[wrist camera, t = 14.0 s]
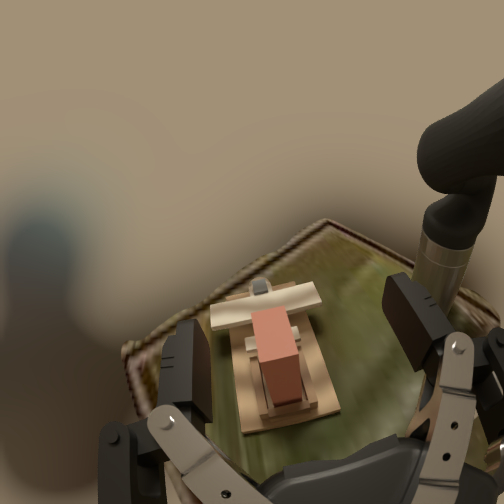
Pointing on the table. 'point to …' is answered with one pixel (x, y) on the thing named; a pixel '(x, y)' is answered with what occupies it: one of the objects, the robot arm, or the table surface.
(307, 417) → the jig
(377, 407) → the table surface
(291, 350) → the terracotta rectangular block
